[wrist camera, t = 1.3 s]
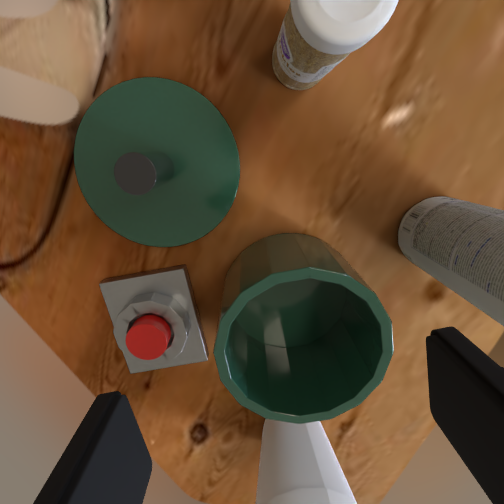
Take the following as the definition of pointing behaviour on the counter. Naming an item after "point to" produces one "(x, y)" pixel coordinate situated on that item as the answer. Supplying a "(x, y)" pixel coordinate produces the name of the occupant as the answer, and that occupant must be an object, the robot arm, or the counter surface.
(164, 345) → the button
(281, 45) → the sprinkles bottle
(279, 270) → the green pot
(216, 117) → the pot lid
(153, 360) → the grey mounting plate
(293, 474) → the foam cup
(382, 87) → the counter surface
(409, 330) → the counter surface
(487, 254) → the spray can
